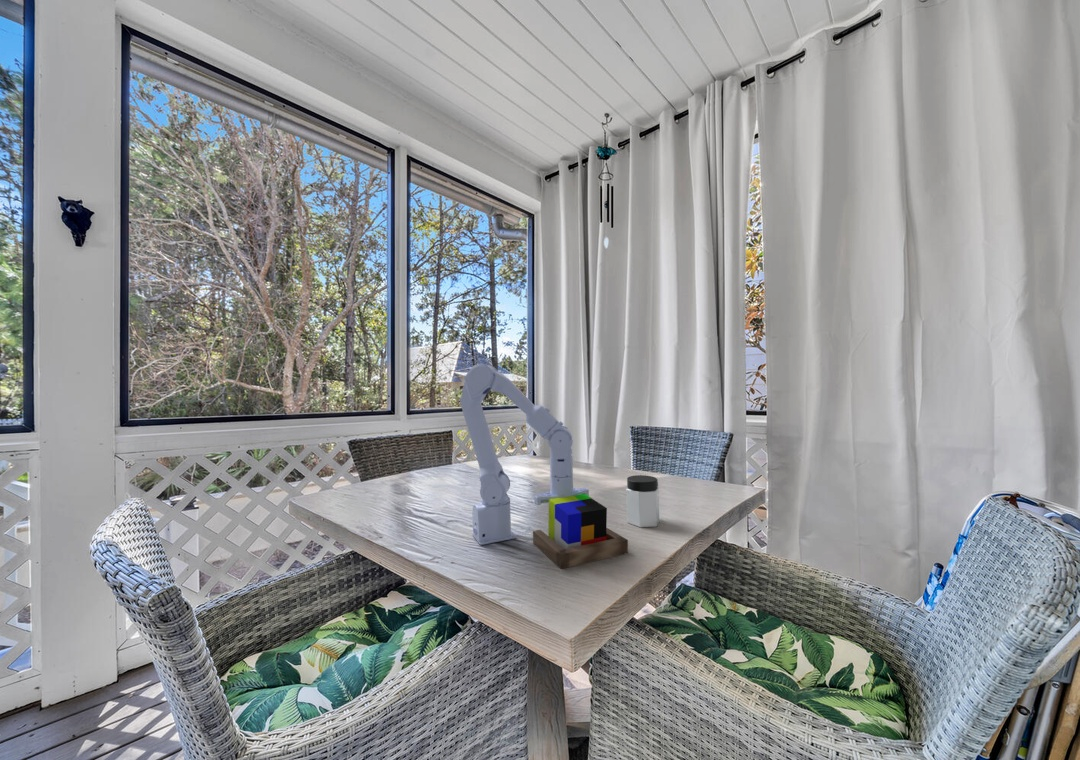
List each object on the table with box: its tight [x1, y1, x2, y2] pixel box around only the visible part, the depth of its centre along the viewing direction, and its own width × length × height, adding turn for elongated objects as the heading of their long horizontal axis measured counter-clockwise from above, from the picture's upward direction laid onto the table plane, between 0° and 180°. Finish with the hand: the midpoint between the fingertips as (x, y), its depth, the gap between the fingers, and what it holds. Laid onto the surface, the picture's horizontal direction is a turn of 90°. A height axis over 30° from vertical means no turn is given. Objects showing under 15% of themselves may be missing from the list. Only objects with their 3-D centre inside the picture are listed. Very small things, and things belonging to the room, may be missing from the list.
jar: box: [625, 474, 660, 528], centre depth 112 cm, size 9×8×12 cm
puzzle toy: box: [548, 494, 608, 549], centre depth 97 cm, size 10×10×10 cm
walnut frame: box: [532, 527, 629, 570], centre depth 96 cm, size 17×15×3 cm
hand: (562, 528), depth 104 cm, fingers closed, pressing on puzzle toy
